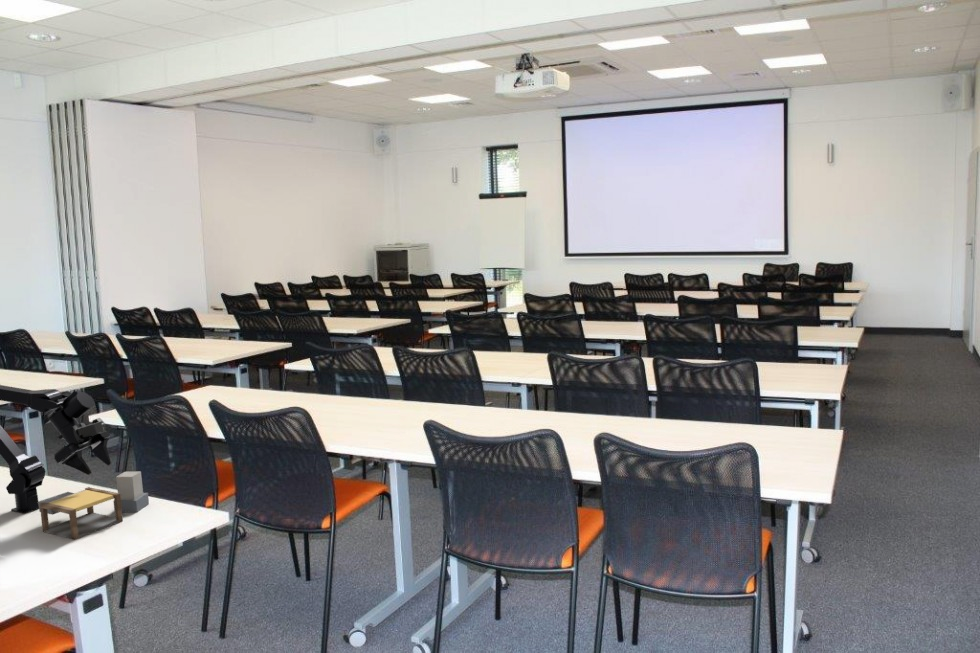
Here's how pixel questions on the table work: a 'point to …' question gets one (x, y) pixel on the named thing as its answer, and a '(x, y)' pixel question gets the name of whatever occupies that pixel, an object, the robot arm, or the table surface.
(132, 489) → the grey upright block
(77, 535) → the frame
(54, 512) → the trapdoor
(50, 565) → the table surface
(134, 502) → the plinth
